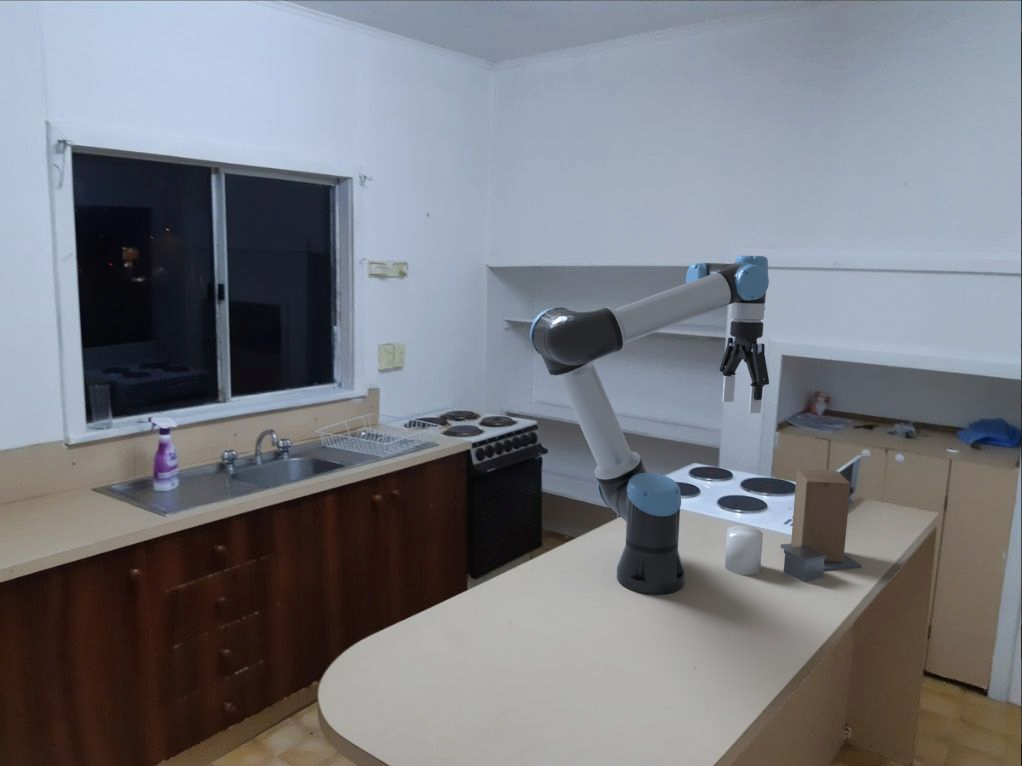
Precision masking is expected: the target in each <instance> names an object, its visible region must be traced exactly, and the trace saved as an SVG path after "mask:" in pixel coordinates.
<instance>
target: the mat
mask: <svg viewBox="0 0 1022 766" xmlns="http://www.w3.org/2000/svg"><path fill="white" fill-rule="evenodd" d="M780 547H781V548H782V549H783V550H785V549H789V548H793V547H792V545H791V543H782V544H780ZM857 568H858V569H859V568H860V569H861V568H862V564H860V563H859V562H857V561H856V560H854V559H852V558H851V557H850V556H848V555H846V554H845V553H844V561H843V562H842V563H840V562H824V569H823V572H824V571H834V570H847V569H857Z"/></svg>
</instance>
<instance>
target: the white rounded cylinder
mask: <svg viewBox="0 0 1022 766" xmlns="http://www.w3.org/2000/svg"><path fill="white" fill-rule="evenodd" d="M763 533H764V532H762V530H760V529H758V528H755V527H753V526H749V525H733V526H729V527H728V528H727V530H726V543H725V544H726V545H725V560H724V561H725V563H724V567H725V569H726V570H727V571H729V572H731V573H734V574H735V575H736V574H737V575H741V576H755V575H758V574H759V573H761V570H762V569H761V568H762V567H761V566H762V552H763V541H764V540H763V538H764V537H763V536H764V534H763Z"/></svg>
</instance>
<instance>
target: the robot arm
mask: <svg viewBox="0 0 1022 766" xmlns="http://www.w3.org/2000/svg"><path fill="white" fill-rule="evenodd" d="M769 283H770V279H769V259H768V258H767V257H766V256H765V255H737V256H736V257H735V260H734V263H721V262H720V263H719V262H718V263H716V262H696V263H695V262H694V263H692V264H691V265H690V266H689V267H688V269H687V271H686V276H685V283H684V284H681V285H677V286H675V287H672V288H669V289H667V290H664V291H661V292H659V293H656V294H653V295H650V296H648V297H645V298H642V299H639V300H637V301H633V302H632V303H631V302H630V303H628V304H625V305H622V306H620V307H616V308H614V309H613V308H611V307H608V306H607V307H603V308H600V309H597V310H592V311H585V312H584V311H580V312H579V311H575V310H570V309H568V308H566V307H559V306H558V307H557V306H556V307H552V308H551V307H550V308H547V309H545V310H543V311H541V312H540V313H539V314H538V315H536V317H535V318H534V320H533V322H532V324H531V326H530V330H529V338H530V342H531V345H532V347H533V348H534V350H535V351H536V352H537V354H539V355H541V357H542V360H543V362H544V364H545V367H546V369H547V370H548V373H549V375H550V376H551V377H554V378H557V379H558V380H559V382H560V383H561V387H562V388H563V390H564V393H565V395H566V398H567V399H568V402H569V404H570V407H571V408H572V410H573V413H574V416H575V418H576V420H577V422H578V425H579V426H580V428H581V431H582V433H583V436H584V438H585V440H586V442H587V445H588V446H589V450H590V451H591V454H592V456H593V458H594V460H595V462H596V465H597V466H596V467H595V469H594V475H595V478H596V480H597V482H596V483H597V486H596V487H597V490H598V494H599V496H600V498H601V500H602V501H603V503H604V504H605V505H606V506H607V507H608V508H609V509H611V510H612V511H614V512H615V513H616V514H617V515H618V516H619V517H620V518H621V519H623V521H625V523H626V525H625V527H626V529H625V546H624V548H623V551H622V554H621V557H620V558H619V561H618V564H617V567H616V579H617V582H619V583H620V585H622V586H623V587H625V588H627V589H629V590H630V591H634V592H638V593H643V594H649V595H664V594H669V593H670V594H671V593H675V592H677V591H679V590H680V589H682V588H683V587H684V585H685V578H686V577H685V573H686V572H685V570H684V566H683V562H682V559H681V555H680V552H679V551H680V550H679V538H680V537H679V535H680V519H681V518H680V517H681V507H682V506H681V505H682V498H681V495H682V494H681V488H680V486H679V484H678V483H677V482H676V481H675V480H674V479H673V478H672V477H671V478H670V476H667V475H661V474H659V473H655V472H647V470H646V467H645V464H644V462H643V460H642V458H641V456H640V454H639V453H638V452H636V451H631V448H630V446H629V444H628V441H627V439H626V437H625V435H624V432H623V430H622V426H621V425H620V423H619V420H618V418H617V416H616V413H615V411H614V408H613V407H612V406H613V405H612V404H611V402H610V398H609V397H608V395H607V393H606V390H605V387H604V385H603V383H602V380H601V378H600V376H599V373H598V371H597V368H596V367H595V364H594V363H595V361H596V360H598V359H601V358H603V357H606V356H609V355H611V354H614V353H617V352H619V351H622V350H624V347H625V345H626V343H627V344H628V343H630V342H633V341H635V340H637V339H640V338H643V337H646V336H648V335H651V334H653V333H657V332H659V331H662V330H664V329H668V328H670V327H672V326H675V325H678V324H681V323H684V322H686V321H688V320H691V319H695V318H696V317H700V316H701V315H704V314H708V313H711V312H712V311H716V310H718V309H720V308H723V307H726V306H728V305H729V306H730V305H731V314H730V315H731V316H730V318H731V319H733V320H732V321H731V322H730V331H729V335H730V336H731V337H728V338H727V343H726V348H725V351H724V354H723V357H722V360H721V364H720V367H719V373H722V375H723V385H722V386H723V387H722V388H723V389H722V397H721V401H722V402H723V403H729V402H730V403H733V402H734V400H735V399H734V398H735V389H736V388H735V387H736V375H737V373H736V370H737V369H738V368H739V366H740V364H741V361H742V360H743V362H744V363H745V364H746V365H747V370H748V372H749V376H750V380H751V383H750V385H749V386H750V388H749V389H750V390H749V401H748V414H761V411H762V400H763V399H762V398H763V388H764V387H765V386H767V385H769V384H770V380H769V371H768V366H767V361H766V355H765V354H766V353H765V352H766V351H765V349H766V348H765V343H758V342H757V341H758V339H761V338H762V337H763V336H764V335H763V334H764V322H763V320H764V318H765V311H766V295H767V291H768V288H769V285H770V284H769Z"/></svg>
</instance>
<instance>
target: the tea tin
mask: <svg viewBox="0 0 1022 766" xmlns="http://www.w3.org/2000/svg"><path fill="white" fill-rule="evenodd" d="M783 553H784V560H783V561H784V563H783V573H785V574H786V575H789V576H791V577H793V578H794V577H795V579H796V578H797V580H798V581H800V582H802V583H808V582H810V581H813V580H818V579H821V578H823V577H824V571H823V569H824V558H826V555H825V554H823V553H821V552H819V551H816V550H814V549H812V548H809V547H807V546H805V545H801V546H797V547H793V548H789V549H783Z"/></svg>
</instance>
